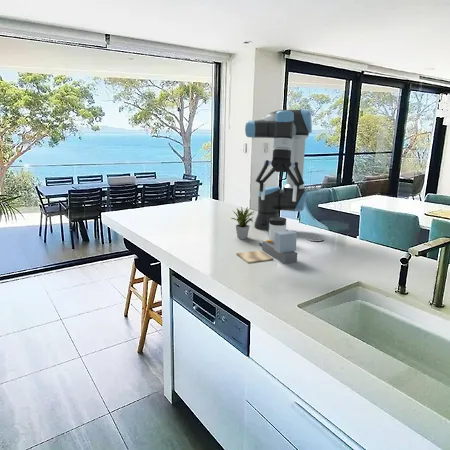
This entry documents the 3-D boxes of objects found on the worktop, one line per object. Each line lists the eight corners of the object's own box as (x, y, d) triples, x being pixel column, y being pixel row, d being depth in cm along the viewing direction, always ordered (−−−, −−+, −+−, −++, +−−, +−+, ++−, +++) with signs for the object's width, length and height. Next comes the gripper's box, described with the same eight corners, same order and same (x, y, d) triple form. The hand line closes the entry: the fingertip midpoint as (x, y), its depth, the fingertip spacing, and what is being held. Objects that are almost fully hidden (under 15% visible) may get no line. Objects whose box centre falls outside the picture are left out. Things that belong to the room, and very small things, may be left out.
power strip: (254, 245, 181) (254, 235, 180) (265, 243, 183) (265, 234, 182) (284, 263, 156) (285, 252, 155) (296, 262, 158) (297, 251, 157)
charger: (274, 254, 162) (275, 232, 159) (290, 252, 165) (291, 230, 162) (279, 257, 158) (280, 234, 155) (295, 255, 161) (296, 232, 158)
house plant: (254, 242, 185) (255, 210, 181) (227, 241, 187) (227, 208, 183) (258, 235, 198) (259, 205, 194) (232, 233, 201) (232, 203, 197)
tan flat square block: (260, 251, 172) (260, 250, 171) (273, 259, 161) (273, 258, 161) (236, 254, 167) (236, 253, 167) (247, 263, 156) (248, 261, 156)
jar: (265, 242, 186) (266, 219, 183) (271, 238, 193) (272, 216, 190) (282, 245, 181) (283, 221, 178) (288, 241, 188) (289, 218, 185)
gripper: (254, 146, 150) (251, 199, 153) (314, 150, 154) (310, 202, 156) (250, 148, 158) (247, 198, 160) (307, 152, 161) (304, 201, 163)
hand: (278, 200), depth 158 cm, fingers open, 13 cm apart
